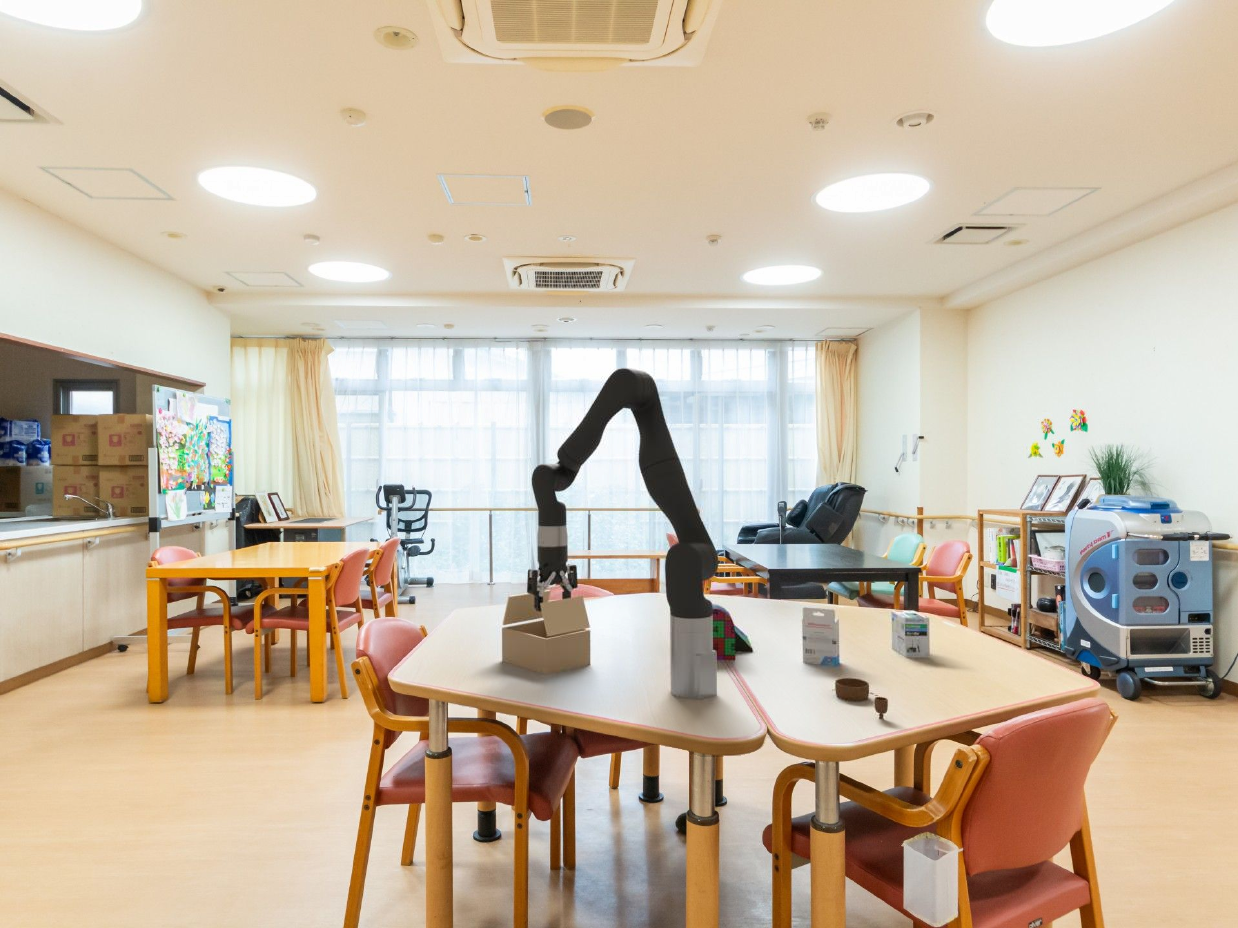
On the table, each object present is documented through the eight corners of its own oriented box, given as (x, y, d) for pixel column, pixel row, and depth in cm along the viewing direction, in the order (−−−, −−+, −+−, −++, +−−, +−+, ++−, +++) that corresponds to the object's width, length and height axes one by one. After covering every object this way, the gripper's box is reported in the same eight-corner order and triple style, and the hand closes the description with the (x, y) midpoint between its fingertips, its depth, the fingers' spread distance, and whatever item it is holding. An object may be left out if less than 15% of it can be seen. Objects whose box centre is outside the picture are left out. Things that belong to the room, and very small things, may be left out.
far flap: (550, 590, 194) (549, 589, 194) (509, 596, 185) (508, 595, 185) (544, 617, 196) (543, 616, 196) (503, 625, 187) (502, 624, 187)
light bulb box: (930, 658, 193) (930, 617, 193) (904, 658, 193) (904, 617, 193) (915, 648, 204) (914, 609, 204) (890, 648, 204) (890, 609, 204)
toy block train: (756, 663, 189) (756, 608, 190) (690, 662, 191) (690, 608, 191) (747, 640, 214) (746, 592, 214) (688, 639, 216) (688, 591, 216)
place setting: (898, 702, 159) (898, 675, 159) (891, 732, 141) (891, 702, 141) (816, 692, 166) (816, 666, 166) (799, 720, 148) (799, 690, 148)
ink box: (840, 664, 188) (839, 606, 188) (836, 669, 183) (835, 609, 183) (806, 660, 192) (806, 603, 192) (802, 664, 187) (801, 606, 187)
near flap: (588, 627, 183) (590, 627, 183) (547, 636, 174) (548, 636, 174) (581, 596, 185) (582, 595, 185) (539, 603, 176) (541, 602, 176)
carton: (590, 669, 183) (590, 629, 183) (546, 681, 174) (546, 639, 174) (545, 656, 196) (545, 619, 196) (502, 666, 187) (501, 627, 187)
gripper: (539, 547, 175) (539, 614, 175) (583, 542, 185) (584, 606, 185) (520, 544, 181) (520, 610, 181) (564, 540, 191) (565, 603, 191)
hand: (553, 608), depth 183 cm, fingers open, 8 cm apart
